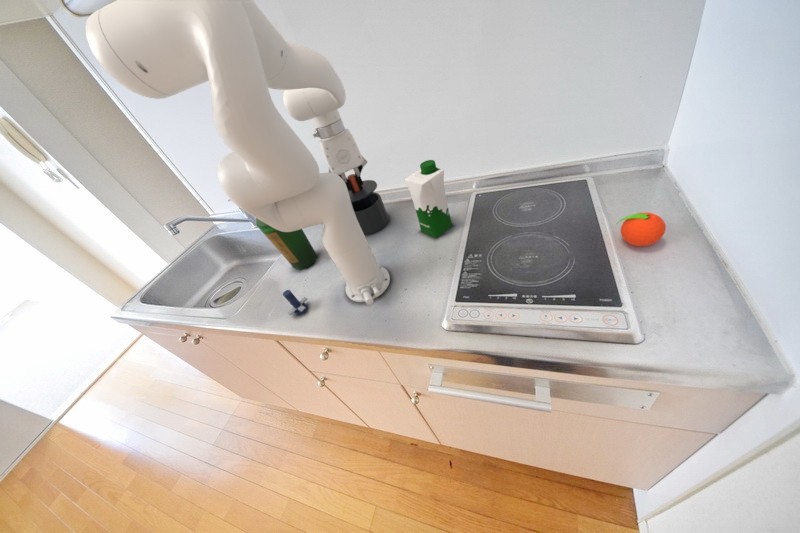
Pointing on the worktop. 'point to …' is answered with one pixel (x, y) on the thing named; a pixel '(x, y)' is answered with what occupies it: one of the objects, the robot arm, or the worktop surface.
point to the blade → (295, 303)
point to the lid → (359, 193)
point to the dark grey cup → (370, 213)
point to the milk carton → (430, 199)
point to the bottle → (290, 245)
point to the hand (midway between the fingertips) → (356, 189)
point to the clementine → (642, 229)
